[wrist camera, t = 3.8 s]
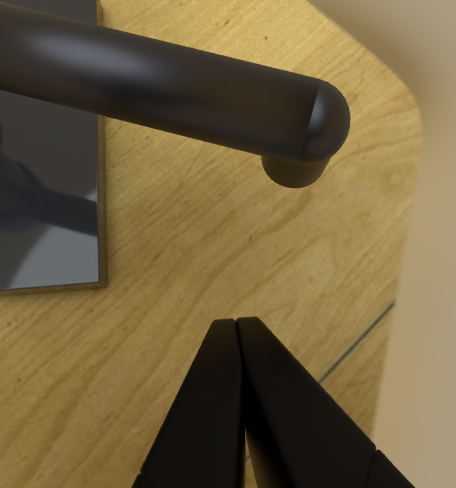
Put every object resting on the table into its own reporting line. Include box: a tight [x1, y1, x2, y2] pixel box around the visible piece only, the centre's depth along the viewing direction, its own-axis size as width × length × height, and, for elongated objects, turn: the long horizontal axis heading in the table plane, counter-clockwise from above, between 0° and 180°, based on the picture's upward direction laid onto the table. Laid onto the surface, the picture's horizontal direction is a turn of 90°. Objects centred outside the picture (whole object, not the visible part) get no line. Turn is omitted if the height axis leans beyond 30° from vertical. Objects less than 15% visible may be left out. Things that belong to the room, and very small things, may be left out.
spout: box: [0, 2, 350, 188], centre depth 11 cm, size 18×4×3 cm, turn 75°
